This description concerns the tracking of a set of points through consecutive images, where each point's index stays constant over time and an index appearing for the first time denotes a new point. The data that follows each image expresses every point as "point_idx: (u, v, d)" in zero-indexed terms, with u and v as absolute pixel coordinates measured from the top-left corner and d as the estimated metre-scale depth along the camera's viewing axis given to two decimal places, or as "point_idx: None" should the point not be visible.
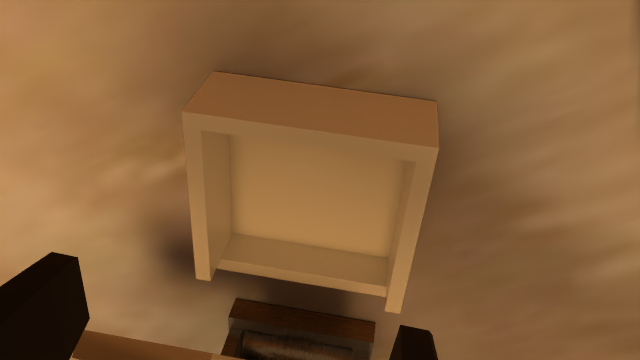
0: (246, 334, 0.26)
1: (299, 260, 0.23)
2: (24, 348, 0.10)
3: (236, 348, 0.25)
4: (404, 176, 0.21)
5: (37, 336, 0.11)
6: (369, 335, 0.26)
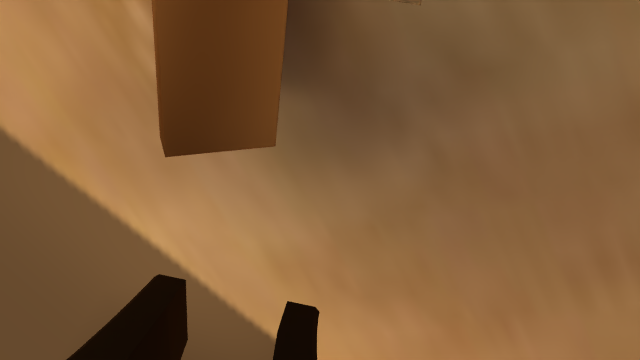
0: None
1: None
2: None
3: None
4: None
5: None
6: None
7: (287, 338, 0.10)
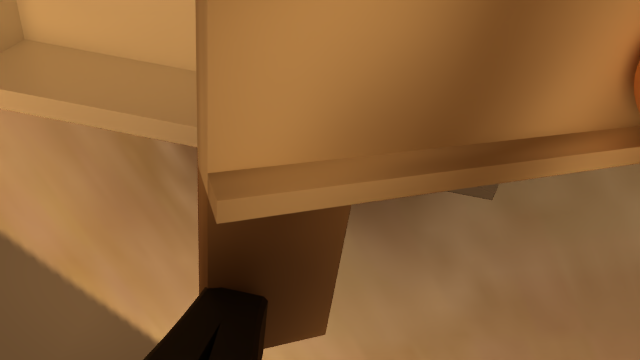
0: None
1: None
2: None
3: None
4: None
5: None
6: None
7: (230, 326, 0.10)
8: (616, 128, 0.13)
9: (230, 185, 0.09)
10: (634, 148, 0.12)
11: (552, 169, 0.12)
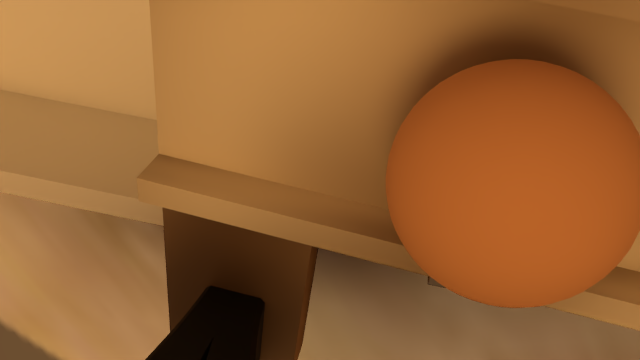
0: None
1: None
2: None
3: None
4: None
5: None
6: None
7: (228, 326, 0.10)
8: None
9: (163, 170, 0.09)
10: None
11: (572, 304, 0.08)
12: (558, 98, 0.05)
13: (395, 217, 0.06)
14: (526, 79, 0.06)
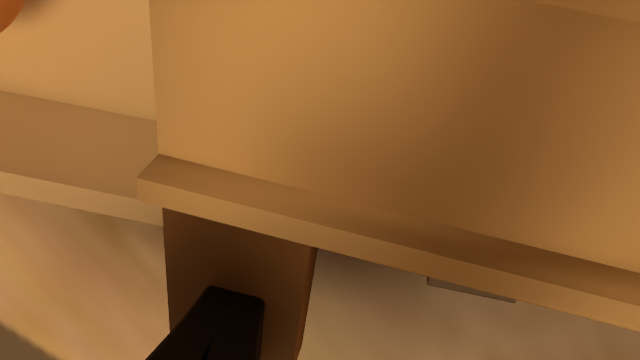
0: None
1: None
2: None
3: None
4: None
5: None
6: None
7: (228, 326, 0.10)
8: None
9: (163, 170, 0.09)
10: None
11: (571, 305, 0.08)
12: None
13: None
14: None
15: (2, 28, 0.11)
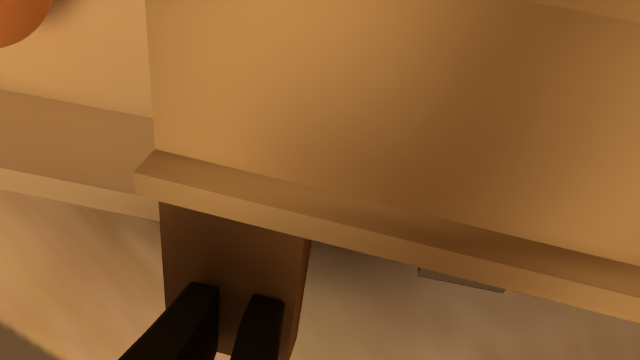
0: None
1: None
2: None
3: None
4: None
5: None
6: None
7: (249, 330, 0.10)
8: None
9: (159, 165, 0.10)
10: None
11: (556, 293, 0.09)
12: None
13: None
14: None
15: (39, 24, 0.11)
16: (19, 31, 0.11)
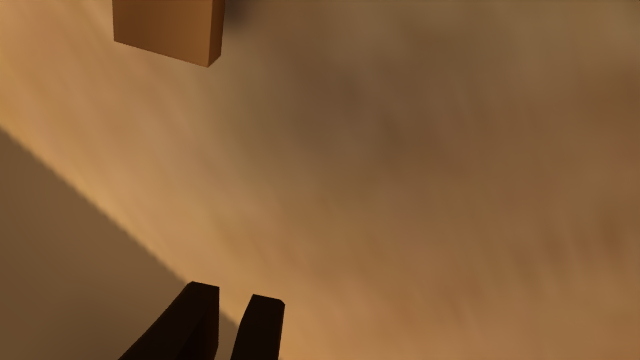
0: None
1: None
2: None
3: None
4: None
5: None
6: None
7: (249, 330, 0.10)
8: None
9: None
10: None
11: None
12: None
13: None
14: None
15: None
16: None
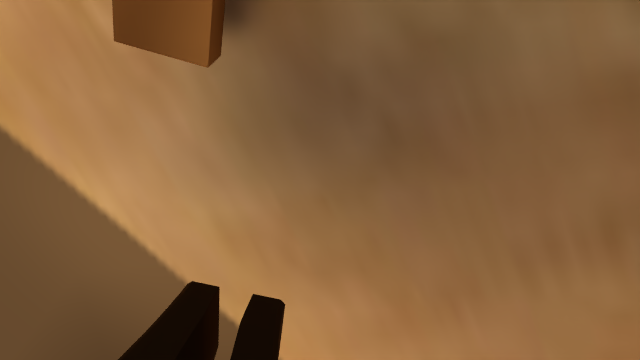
0: None
1: None
2: None
3: None
4: None
5: None
6: None
7: (249, 330, 0.10)
8: None
9: None
10: None
11: None
12: None
13: None
14: None
15: None
16: None
